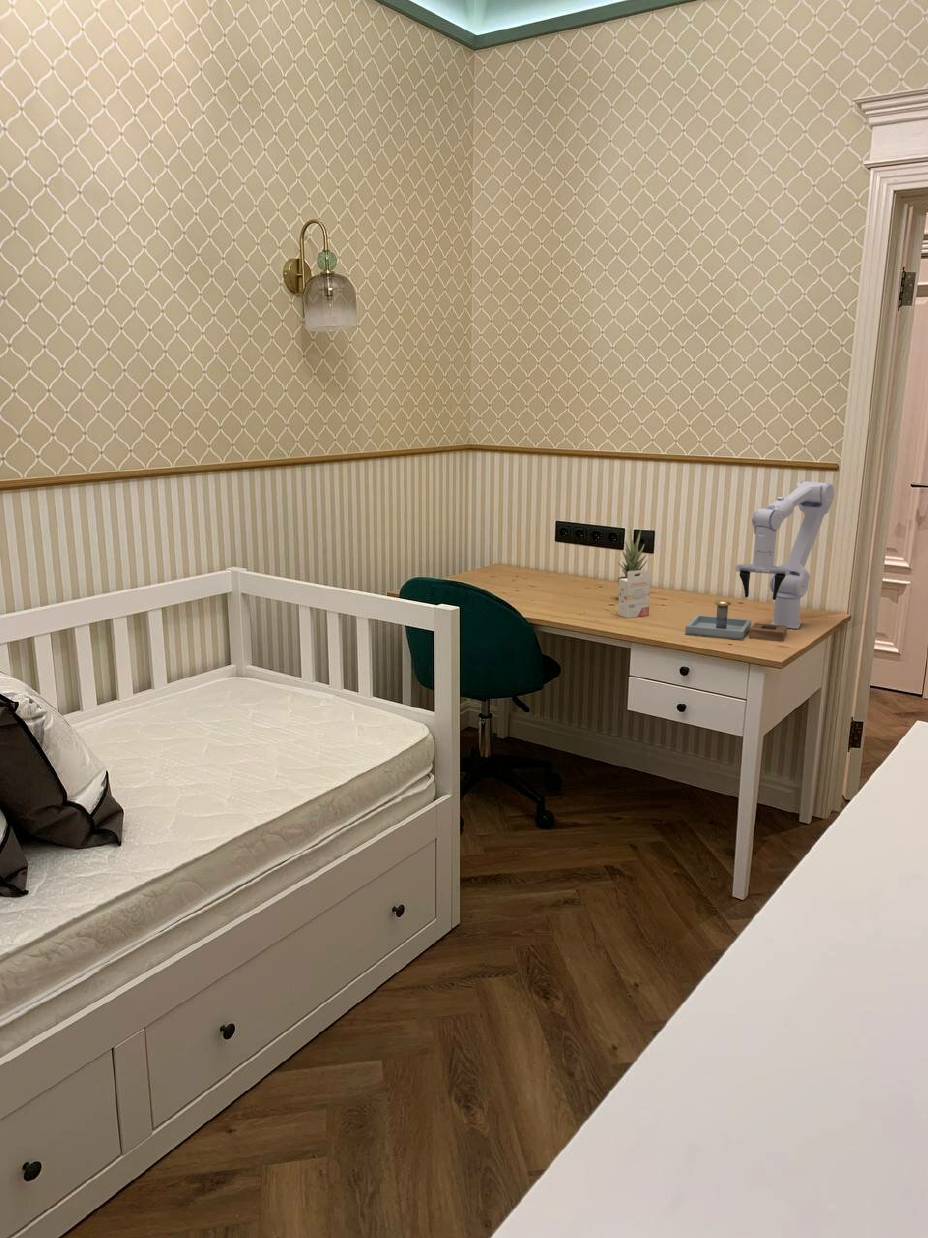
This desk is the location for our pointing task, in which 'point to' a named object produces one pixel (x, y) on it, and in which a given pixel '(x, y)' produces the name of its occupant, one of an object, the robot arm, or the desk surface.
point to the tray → (708, 628)
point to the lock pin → (722, 613)
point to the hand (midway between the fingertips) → (760, 597)
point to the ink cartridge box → (634, 594)
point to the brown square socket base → (768, 632)
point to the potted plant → (632, 557)
